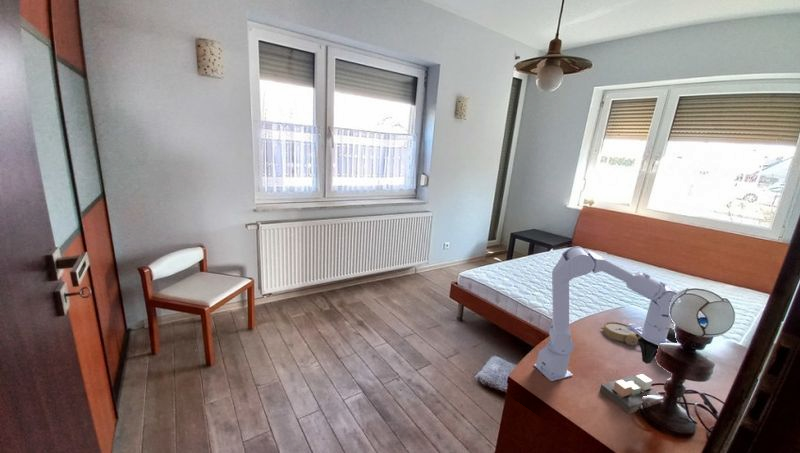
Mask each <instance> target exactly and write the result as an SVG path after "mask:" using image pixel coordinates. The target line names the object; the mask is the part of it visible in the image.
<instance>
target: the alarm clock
mask: <svg viewBox="0 0 800 453" xmlns="http://www.w3.org/2000/svg"><path fill="white" fill-rule="evenodd" d="M603 326H604V327H600V329H601V330H603V333H604V334H605V336H607V337H608V338H610V339H612V340H614V341H618V342H623V343H625V344H627V345H628V346H635V345H639V343H638V339H641V336H640V335H638V334H637V333H635V332H633V331H629V330H628V329H627V326H628V324H625V323H622V322H618V321H617V322H616V321H608V322H605V323H604V325H603Z"/></svg>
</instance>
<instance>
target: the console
mask: <svg viewBox="0 0 800 453" xmlns="http://www.w3.org/2000/svg"><path fill="white" fill-rule="evenodd" d="M635 377H636V376H634V375H629V376H627V377H622V378H619V379H615V380H612V381H608V382H604V383H601V385H600V389H599V392H601V393H602V394H603V395H604V396H605V397H607V398H608V399H609V400H610V401H611V402H613V403H614V404H615V405H616V406H617V407H619V408H620V409H621V410H623V412H625V413H626V414H627V415H629V414H633V413H635V412H638V411H637V410H638V409H639V407H640V406H641V405H642V403H643V401H642V397H643V396H647V395H661V394H660V393H659V392H657V391H656V390H654V389H653V388H652V387H651V388H650V389H647V390H644V391H643V392H642V389H641V390H640V394H637V395H634V396H633V395H632V394H630V395H627V396H624V397H622V396H621V395H619V394H618V393H617V392H616V391H614V390H613V388H614V384H615V381H618V380H624V381H625V382H629V381H633V382H634V381H635Z"/></svg>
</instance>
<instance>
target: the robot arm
mask: <svg viewBox="0 0 800 453" xmlns="http://www.w3.org/2000/svg"><path fill="white" fill-rule="evenodd" d="M591 272H592V273H593V274H596V273H600V272H603V273H605V274H607V275H610V276H611V277H614V278H616V279H617V280H620V281H622V282H624V283H625V285H626V287H627V288H628V289H629V290H630V291H633V292H635V293H636V294H639V295H641V296H642V297H644V298H646V299H648V300H650V302H649V306H648V308H647V311H646V312H647V313H646V316H645V320H644V323H643V327H641V326H639V325H637V324H635V323H633V322H631V323H627V325H628V326H627V329H628V330H629V331H633V332H635V333H637V334H638V335H640V336H641V339H638V343H639V344H638V346H639V348H640V352H641V360H642V362H643V363H644V364H647V365H648V364H651V363H652V362H653V361H654V359H655V356H656V353H657V349H658V346H659V344H660V343H671V342H670V341H668V340H667V339H666V338H667V335H668V331H669V328H670V324H671V321H672V320H671V318H670V316H669V306H670V302H671V300H672V298H673V296H674V295H676V294H677V293H678V292H676V291H675V290H674V289H673V288H672V287H670V286H669V285H668V284H666V283H664V282H663V281H660V282H658V281H657V280H655V279H653V278H652V277H651V275H649V274H648V273H646V272H643V273H641V272H638V271H637V272H630V271H629V270H626V269H625V268H623V267H621V266H620V265H617V264H616V263H614V262H612V261H611V260H608V259H607V258H605V257H603V256H601V255H599V254H597V253H595V252H594V251H592V250H586V249H584V248H583V247H581V246H578V245H577V246H572V247H569V248H568V249H567V250H565V251H563V252H562V253H561V257H560V259H559V260H558V261H557V263H556V264H555V266H554V268H552V271H551V273H552V274H551V279H552V280H551V281H552V282H551V283H552V284H551V285H552V286H551V287H552V290H551V292H552V293H551V294H552V320H551V325H550V327H549V328H548V334H549V337H550V338H549V340H548V342H547V345H546V346H545V347H543V348H542V349H540V350H539V351H538V354H537V359H536V362H535V363H534V364H533V366H534V367H535V368H537V370H539V372H540V373H541V374H542V375H544V376H545V377H546V378H547V379H548V380H549V381H551V382H553V381H557V380H561V379H565V378H570V377H573V375H574V374H573V373H572V372H571V371H569V370H568V367H569V362H570V357H571V354H572V353H573V352H574V350H575V345H574V342H573V341H572V334H571V328H570V281H572V280H573V279H575V278H578V277H582V276H585V275H588V274H590V273H591Z"/></svg>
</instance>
